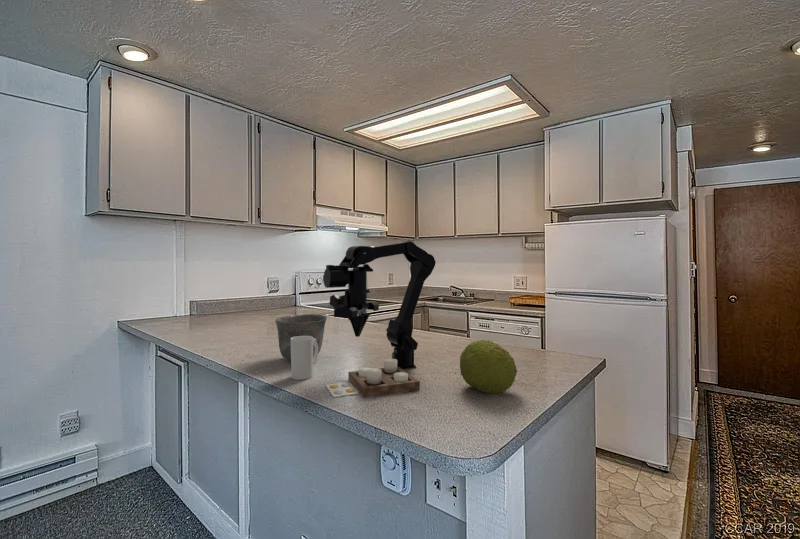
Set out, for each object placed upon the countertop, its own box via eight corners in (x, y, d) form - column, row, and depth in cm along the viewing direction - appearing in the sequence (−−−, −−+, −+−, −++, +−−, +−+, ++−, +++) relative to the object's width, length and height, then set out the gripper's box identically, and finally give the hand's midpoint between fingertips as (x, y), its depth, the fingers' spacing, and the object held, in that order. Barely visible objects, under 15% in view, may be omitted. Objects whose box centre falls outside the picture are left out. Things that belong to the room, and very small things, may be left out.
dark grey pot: (289, 352, 151) (288, 313, 150) (333, 354, 148) (333, 314, 148) (267, 365, 133) (266, 321, 132) (317, 367, 131) (317, 322, 130)
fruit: (526, 388, 110) (529, 348, 103) (492, 417, 103) (492, 376, 96) (482, 359, 122) (482, 320, 114) (449, 383, 115) (446, 344, 107)
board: (397, 373, 124) (397, 366, 124) (419, 389, 109) (419, 381, 109) (348, 379, 118) (348, 371, 118) (364, 397, 103) (364, 388, 103)
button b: (404, 382, 114) (404, 371, 114) (410, 386, 110) (410, 375, 110) (391, 384, 112) (391, 372, 112) (396, 388, 109) (397, 377, 108)
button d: (378, 378, 111) (378, 367, 111) (383, 383, 107) (383, 371, 107) (364, 380, 109) (364, 369, 109) (369, 384, 105) (369, 373, 105)
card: (349, 383, 115) (349, 381, 115) (359, 394, 105) (359, 392, 105) (325, 386, 112) (325, 384, 112) (333, 397, 103) (333, 395, 103)
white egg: (369, 377, 118) (369, 367, 118) (373, 381, 114) (373, 370, 114) (356, 379, 117) (356, 368, 116) (360, 383, 113) (360, 372, 113)
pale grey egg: (394, 368, 121) (394, 358, 121) (399, 371, 117) (399, 361, 117) (382, 369, 120) (382, 359, 119) (386, 373, 116) (386, 362, 116)
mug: (301, 381, 116) (301, 341, 115) (286, 377, 119) (285, 338, 119) (325, 373, 124) (325, 335, 124) (310, 369, 128) (310, 333, 127)
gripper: (349, 283, 134) (349, 329, 134) (318, 287, 116) (318, 340, 117) (379, 284, 129) (379, 331, 130) (351, 289, 112) (351, 343, 113)
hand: (357, 336), depth 122 cm, fingers closed
